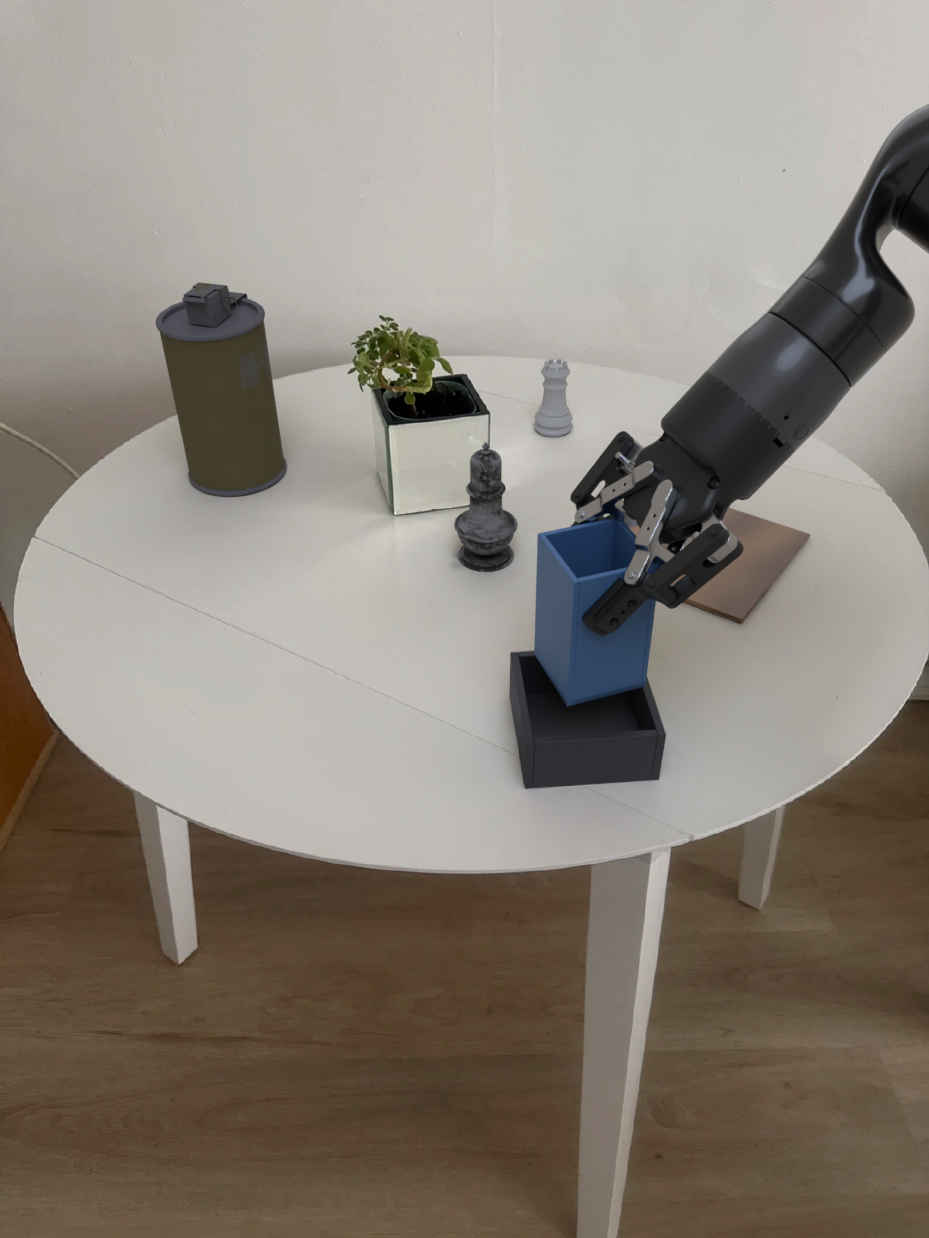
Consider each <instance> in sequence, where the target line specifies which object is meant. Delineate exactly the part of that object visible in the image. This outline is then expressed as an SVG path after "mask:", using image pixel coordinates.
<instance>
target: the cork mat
mask: <svg viewBox="0 0 929 1238" xmlns="http://www.w3.org/2000/svg"><path fill="white" fill-rule="evenodd" d="M722 522H723V524H724V525H725V527H726V528H727V530H728V531H729V532H730V533H732V534H733V535H734V536H735V537H736V538H737V539H738V540H739V541H740V542H741V543H742V544H743V547H744V549H743V552H742V554H741V555H740V556H739V557H738V558H737V559H735V560H734V561H733V562H732V563H731V564H729V565H728V566H727V567H726V568H724V569H723V570H722V571H721V572H720V573H718V574H717V575H716V576H715V577H713V578H712V579H711V580H710V581H708V582H707V583H706V584H705V585H704V586H702V587H701V588H700V589H699V590H697V591H696V592H695V593H694V594H693V595H691V596H690V597H689V598H688V599H686V600H685V601H684V602H683V603H685V604H688V605H691V606H694V607H696V608H698V609H701V610H704V611H707V612H709V613H712V614H714V615H717V616H719V617H722V618H725V619H727V620H730V621H732V622H736V623H738V624H740V625H742V624H743V623H744V621H745V620H746V619H747V618H748V616H749V615H750V614H751V613H752V612H753V610H754V609H755V608H756V606H758V604H759V602H761V600H762V598H764V597H765V595H766V594H767V592H768V591H769V590H770V588H771V587H772V586H773V585H774V584H775V582H776V581H777V580H778V579H779V577H780V576H781V575H782V573H784V571H785V570H786V568H787V567H788V566H789V565H790V563H791V562H792V561H793V560H794V558H795V557H796V556H797V555H798V554H799V552H800V551H801V550H802V548H803V547H804V546H805V544H806V542H808V540H809V539H810V537H811V533H808V532H805V531H802V530H799V529H796V528H794V527H790V526H787V525H784V524H781V523H778V522H775V521H771V520H768V519H766V518H763V517H759V516H756V515H754V514H753V515H752V514H750V513H746V512H743V511H741V510H738V509H735V508H731V507H729V508H728V510H727V512H726V514H725V516H724V519H723V520H722ZM630 529H631V530H632V532H633V533H634V534H635V535H636V536H637V535H638V533H639V531H640V527H639V526H638V525H636V526H635V527H632V528H630ZM693 540H694V539H692V541H693ZM668 545H669V544H662V546H663V547H665V548H666V549H667V547H668ZM684 576H685V575H682V576H680V577H679V578H678V579H677V580H676V581H674V582H673V583H672V584H671V585H672V586H673V585H674V584H675V583H676V582H678V581H679V580H680V579H681V578H682V577H684Z"/></svg>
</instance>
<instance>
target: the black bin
mask: <svg viewBox="0 0 929 1238" xmlns="http://www.w3.org/2000/svg"><path fill="white" fill-rule="evenodd" d="M509 655H510V656H509V701H510V707H511V708H510V709H511V713H512V719H513V727H514V731H515V732H514V733H515V738H516V744H517V750H518V758H519V763H520V769H521V775H522V781H523V788H524V789H539V788H551V787H553V788H554V787H555V788H556V787H566V786H567V787H568V786H581V785H583V786H584V785H597V784H598V785H599V784H611V783H612V784H613V783H614V784H615V783H626V782H641V781H643V782H644V781H655V780H660V776H661V769H662V764H663V763H662V762H663V757H664V750H665V743H666V737H667V732H666V730H665V727H664V723H663V721H662V718H661V715H660V712H659V709H658V705H657V702H656V700H655V696H654V693H653V690H652V688H651V684H650V681H649V678H648V677H647V679H646V686H644V687H640V688H637V689H633V690H629V691H625V692H621V693H617V694H613V695H610V696H606V697H602V698H598V699H594V700H590V701H586V702H583V703H579V704H575V705H571V706H567V705H566V704H565V702H564V701H563V699H562V697H561V696H560V694H559V693H558V691H557V689H556V688H555V686H554V685H553V683H552V681H551V680H550V678H549V677H548V675H547V673H546V672H545V670H544V669H543V667H542V665H541V664H540V662H539V661H538V659H537V657H536V656H535V654H534V650H524V651H511V652H510V653H509Z"/></svg>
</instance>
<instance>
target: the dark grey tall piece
mask: <svg viewBox="0 0 929 1238" xmlns="http://www.w3.org/2000/svg"><path fill="white" fill-rule="evenodd" d="M490 448H491V447H490V444H489V443H488V442H484V443H483V445H481V449H479V450H477V451H475V452H474V453H473V454H472V455H471V457H470V460H469V482H468V483H467V485H466V486H465V491H466V493H467V494H468V495H469V508H468V509H467V510H464V511H463V512H460V514H458V515H457V517H456V518H455V519H454V523H453V526H454V530H455V532H456V534H457V536H458V538H459V540H460V542H461V544H462V546H461V547H460V548H459V550H458V553H457V558H458V561H459V562H460V564H462V566H464V567H465V568H467V569H469V570H472V571H476V572H484V573H487V572H488V573H489V572H495V571H500V570H502V569H505V568H507V567H508V566H509V565H511V563H512V562H513V561H514V558H515V553H514V550H513V549H512V547H511V546H510V544H511V542H512V540H513V538H514V534H515V533H516V531H517V530H518V525H519V523H518V520H517V518H516V517H515V516H514V515H513V514H512V513H511V512H509V511H507V510H505V509H503V496H504V494H505V493H506V489H507V488H506V484H505V483H504V482H503V481H502V477H503V475H502V471H503V470H502V467H503V461H502V458H501V455H500V454H499V453H498V452H497V451H496V450H493V449H490Z"/></svg>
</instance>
